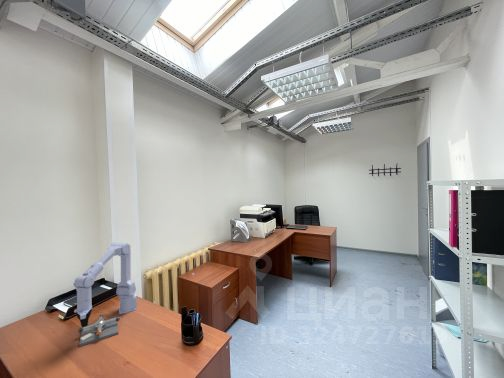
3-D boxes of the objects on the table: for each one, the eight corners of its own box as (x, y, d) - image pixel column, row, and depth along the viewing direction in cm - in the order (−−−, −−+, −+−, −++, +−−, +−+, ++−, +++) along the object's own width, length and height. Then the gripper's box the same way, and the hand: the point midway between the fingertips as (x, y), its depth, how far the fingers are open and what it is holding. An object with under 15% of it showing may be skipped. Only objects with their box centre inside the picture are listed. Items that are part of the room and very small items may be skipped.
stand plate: (117, 318, 126) (117, 316, 126) (118, 334, 112) (118, 331, 112) (82, 328, 117) (82, 326, 117) (78, 347, 103) (78, 344, 103)
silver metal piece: (119, 314, 127) (119, 308, 127) (120, 331, 112) (120, 324, 112) (80, 325, 117) (80, 318, 117) (75, 346, 102) (75, 338, 102)
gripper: (76, 295, 111) (76, 321, 111) (71, 308, 99) (72, 337, 99) (93, 291, 115) (93, 316, 115) (90, 303, 103) (91, 331, 103)
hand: (84, 326), depth 107 cm, fingers closed
